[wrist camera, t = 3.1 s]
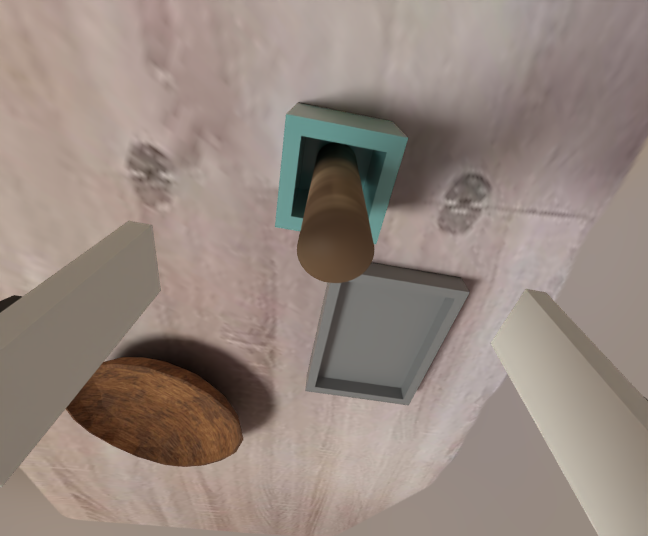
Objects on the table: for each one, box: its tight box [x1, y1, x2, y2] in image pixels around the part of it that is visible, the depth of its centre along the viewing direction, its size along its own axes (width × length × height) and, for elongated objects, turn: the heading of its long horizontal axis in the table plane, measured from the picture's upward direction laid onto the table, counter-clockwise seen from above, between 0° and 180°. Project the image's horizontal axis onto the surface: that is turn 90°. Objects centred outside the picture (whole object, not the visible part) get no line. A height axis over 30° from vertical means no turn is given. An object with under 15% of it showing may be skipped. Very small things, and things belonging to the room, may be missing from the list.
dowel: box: [297, 142, 374, 283], centre depth 19 cm, size 3×3×14 cm
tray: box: [306, 263, 470, 405], centre depth 35 cm, size 13×18×2 cm
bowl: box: [66, 357, 243, 467], centre depth 41 cm, size 20×22×5 cm
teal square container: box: [275, 103, 408, 244], centre depth 23 cm, size 7×7×7 cm
